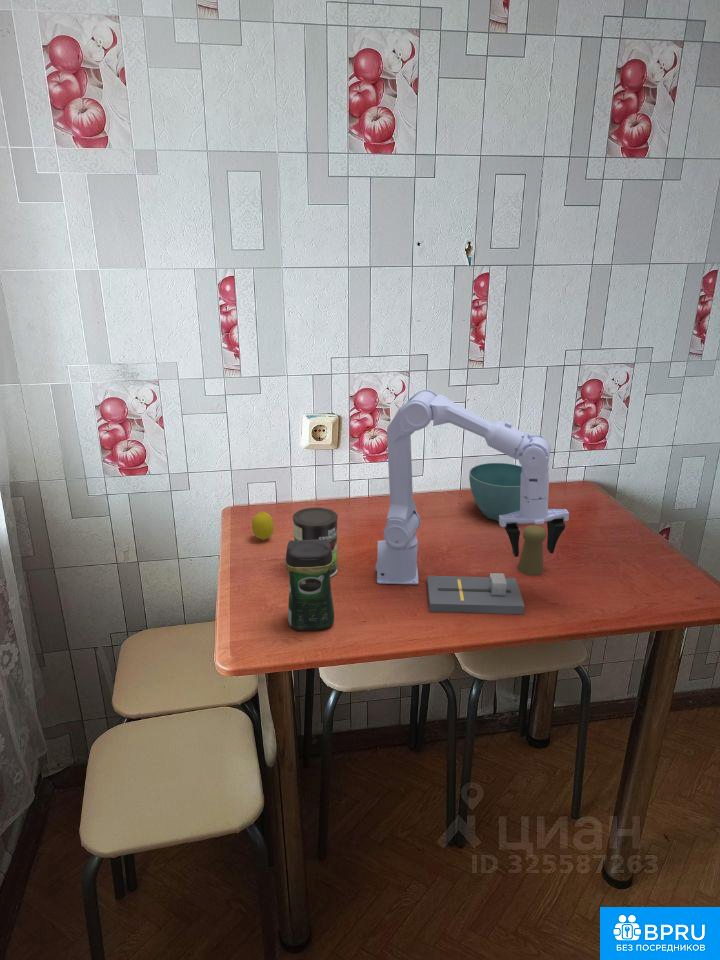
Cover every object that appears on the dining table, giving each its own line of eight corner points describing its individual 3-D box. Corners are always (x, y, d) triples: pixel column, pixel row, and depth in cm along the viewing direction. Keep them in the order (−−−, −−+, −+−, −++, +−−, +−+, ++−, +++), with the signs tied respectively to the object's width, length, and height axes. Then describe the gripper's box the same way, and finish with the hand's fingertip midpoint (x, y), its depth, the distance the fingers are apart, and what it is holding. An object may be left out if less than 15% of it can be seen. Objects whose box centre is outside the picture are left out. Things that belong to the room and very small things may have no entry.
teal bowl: (472, 498, 211) (475, 459, 207) (536, 506, 206) (540, 466, 202) (461, 523, 195) (463, 481, 191) (529, 533, 190) (533, 490, 186)
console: (429, 611, 154) (430, 603, 153) (427, 583, 165) (427, 575, 165) (523, 614, 154) (524, 605, 153) (514, 585, 165) (515, 577, 164)
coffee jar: (332, 610, 154) (332, 532, 148) (335, 631, 147) (334, 550, 140) (287, 612, 154) (284, 533, 147) (287, 633, 146) (284, 552, 139)
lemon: (248, 543, 184) (247, 514, 181) (258, 533, 189) (257, 506, 186) (268, 546, 182) (267, 517, 179) (277, 537, 187) (276, 508, 184)
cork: (525, 577, 168) (529, 534, 164) (513, 564, 174) (517, 523, 170) (548, 573, 170) (553, 531, 166) (535, 561, 175) (540, 520, 171)
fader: (491, 595, 156) (492, 583, 155) (489, 585, 161) (490, 573, 159) (505, 595, 156) (506, 583, 155) (502, 585, 160) (503, 573, 159)
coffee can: (346, 568, 172) (346, 514, 167) (318, 585, 164) (317, 529, 159) (313, 555, 178) (312, 503, 172) (285, 571, 170) (283, 517, 165)
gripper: (505, 504, 146) (505, 564, 151) (575, 498, 147) (572, 558, 152) (496, 492, 153) (496, 550, 158) (563, 486, 154) (560, 543, 159)
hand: (533, 553), depth 155 cm, fingers open, 7 cm apart
